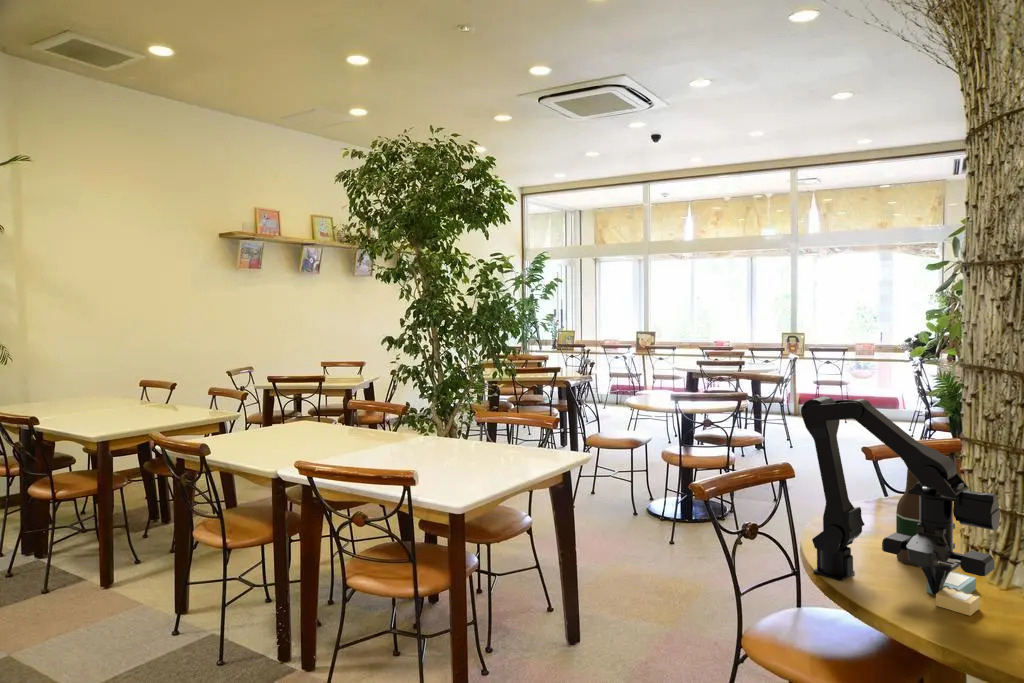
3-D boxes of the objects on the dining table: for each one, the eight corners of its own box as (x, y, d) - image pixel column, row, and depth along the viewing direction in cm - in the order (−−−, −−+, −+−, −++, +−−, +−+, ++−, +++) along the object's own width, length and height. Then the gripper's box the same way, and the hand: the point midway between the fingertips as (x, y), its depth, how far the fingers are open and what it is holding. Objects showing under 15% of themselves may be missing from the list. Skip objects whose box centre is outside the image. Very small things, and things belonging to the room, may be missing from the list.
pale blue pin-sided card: (926, 592, 144) (926, 580, 143) (944, 580, 149) (944, 569, 149) (959, 601, 139) (959, 589, 139) (975, 589, 144) (976, 577, 144)
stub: (935, 605, 137) (936, 593, 137) (945, 598, 140) (945, 586, 140) (970, 615, 133) (970, 603, 132) (979, 608, 135) (979, 595, 135)
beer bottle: (912, 553, 165) (912, 453, 164) (943, 564, 158) (943, 460, 156) (888, 558, 162) (888, 457, 161) (918, 570, 155) (918, 464, 153)
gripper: (869, 517, 141) (869, 591, 142) (973, 540, 126) (973, 623, 127) (894, 505, 148) (894, 577, 149) (995, 526, 133) (995, 605, 134)
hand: (935, 594), depth 139 cm, fingers closed
